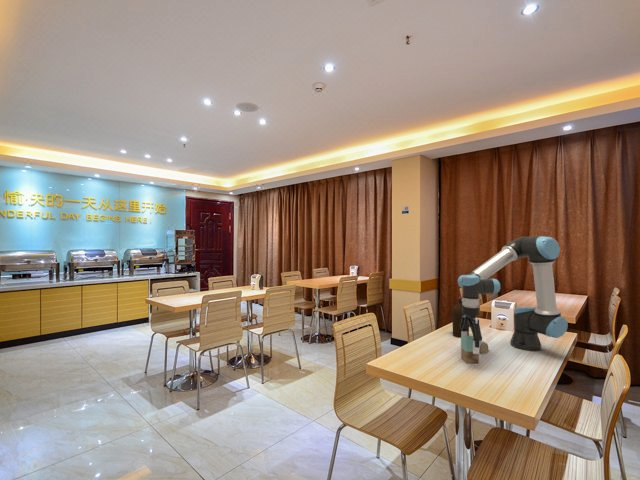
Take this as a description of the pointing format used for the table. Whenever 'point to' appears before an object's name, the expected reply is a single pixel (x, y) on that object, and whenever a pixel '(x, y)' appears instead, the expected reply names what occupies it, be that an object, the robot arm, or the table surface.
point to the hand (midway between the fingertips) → (469, 348)
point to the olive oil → (457, 318)
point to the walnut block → (469, 357)
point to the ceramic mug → (483, 347)
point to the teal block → (467, 343)
